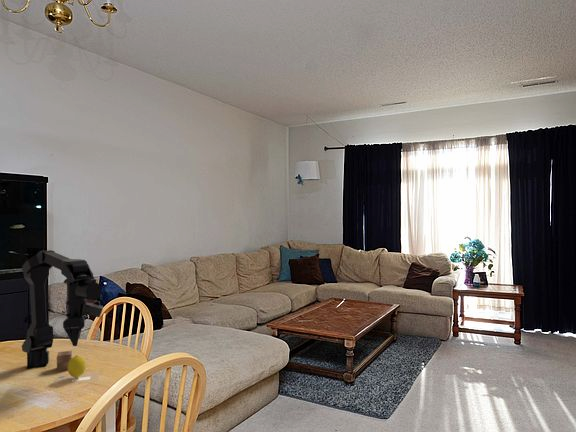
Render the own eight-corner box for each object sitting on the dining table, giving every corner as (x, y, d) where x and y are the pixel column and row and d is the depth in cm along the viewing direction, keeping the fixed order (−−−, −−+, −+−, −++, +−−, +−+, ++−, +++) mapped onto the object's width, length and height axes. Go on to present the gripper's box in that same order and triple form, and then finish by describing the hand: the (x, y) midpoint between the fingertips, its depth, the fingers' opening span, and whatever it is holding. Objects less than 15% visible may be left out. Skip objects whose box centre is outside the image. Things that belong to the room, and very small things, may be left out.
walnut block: (56, 372, 155) (56, 356, 155) (58, 368, 159) (58, 352, 159) (70, 370, 156) (70, 354, 156) (71, 366, 161) (71, 350, 160)
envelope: (51, 387, 141) (51, 386, 141) (55, 377, 150) (55, 376, 150) (98, 381, 146) (98, 380, 146) (99, 371, 155) (99, 370, 155)
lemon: (78, 381, 145) (78, 358, 145) (64, 380, 146) (64, 357, 146) (89, 375, 150) (89, 353, 150) (75, 374, 152) (75, 352, 152)
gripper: (100, 300, 142) (100, 347, 142) (102, 290, 160) (103, 332, 160) (62, 302, 138) (63, 351, 138) (69, 292, 156) (69, 336, 156)
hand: (76, 342), depth 148 cm, fingers open, 9 cm apart
